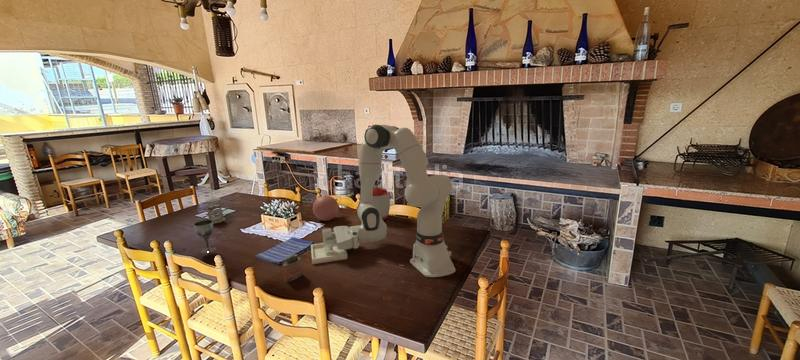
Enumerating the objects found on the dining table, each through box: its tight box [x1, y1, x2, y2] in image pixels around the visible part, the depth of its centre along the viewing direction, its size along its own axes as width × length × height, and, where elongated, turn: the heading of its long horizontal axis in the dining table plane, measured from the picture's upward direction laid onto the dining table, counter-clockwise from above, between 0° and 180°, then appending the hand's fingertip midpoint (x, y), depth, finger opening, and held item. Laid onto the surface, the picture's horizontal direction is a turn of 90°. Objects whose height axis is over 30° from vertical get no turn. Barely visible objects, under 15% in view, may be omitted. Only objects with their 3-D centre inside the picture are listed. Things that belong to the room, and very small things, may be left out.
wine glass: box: [193, 219, 217, 255], centre depth 167 cm, size 8×8×15 cm
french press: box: [204, 181, 227, 224], centre depth 207 cm, size 10×12×25 cm
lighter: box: [282, 254, 303, 283], centre depth 141 cm, size 8×3×10 cm, turn 141°
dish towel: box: [254, 236, 315, 266], centre depth 166 cm, size 17×24×3 cm
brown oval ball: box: [312, 195, 340, 222], centre depth 206 cm, size 15×20×15 cm
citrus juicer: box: [372, 186, 393, 221], centre depth 205 cm, size 16×17×20 cm
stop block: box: [321, 227, 333, 252], centre depth 160 cm, size 4×4×10 cm
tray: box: [310, 242, 348, 265], centre depth 162 cm, size 16×16×2 cm
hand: (325, 239), depth 160 cm, fingers closed on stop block, 4 cm apart
